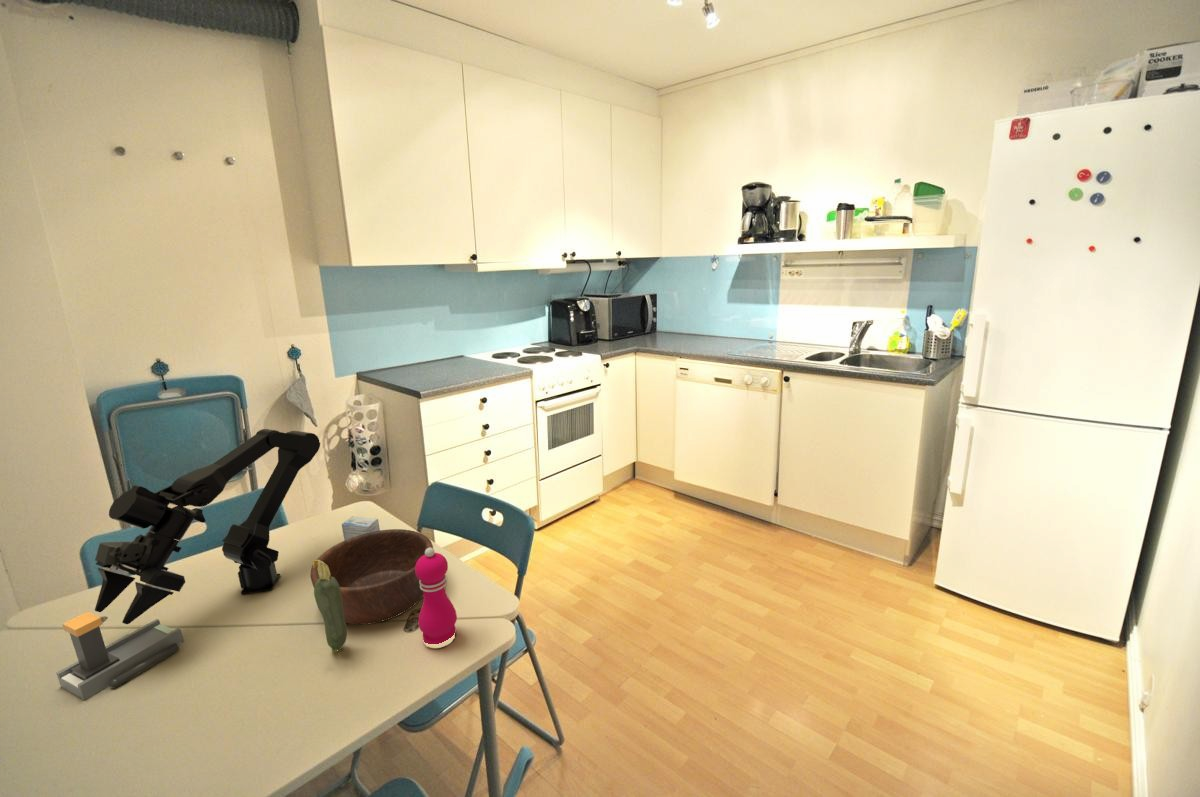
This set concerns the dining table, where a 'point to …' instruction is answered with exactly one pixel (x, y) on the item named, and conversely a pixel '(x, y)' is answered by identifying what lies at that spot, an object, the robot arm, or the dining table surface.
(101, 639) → the orange-capped post
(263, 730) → the dining table surface
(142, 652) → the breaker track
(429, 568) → the pepper mill
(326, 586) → the vegetable
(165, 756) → the dining table surface
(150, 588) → the robot arm
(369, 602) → the wooden bowl
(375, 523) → the medicine box
